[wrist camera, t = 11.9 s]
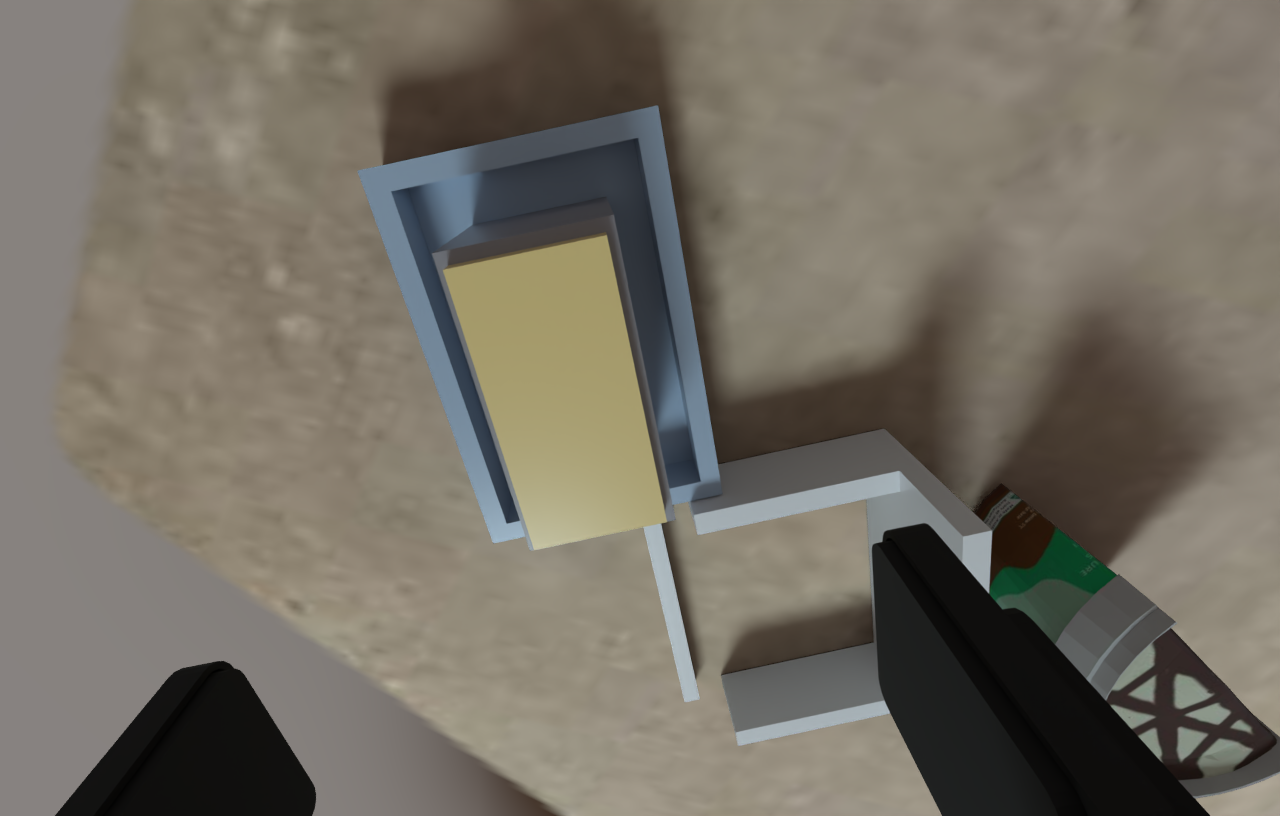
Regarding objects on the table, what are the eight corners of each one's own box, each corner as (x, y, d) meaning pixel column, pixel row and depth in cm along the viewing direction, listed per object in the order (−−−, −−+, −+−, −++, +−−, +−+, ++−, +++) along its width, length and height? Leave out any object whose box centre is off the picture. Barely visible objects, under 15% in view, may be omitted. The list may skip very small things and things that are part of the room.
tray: (650, 109, 22) (657, 105, 19) (710, 464, 28) (722, 493, 25) (382, 168, 22) (357, 170, 19) (501, 509, 28) (493, 543, 25)
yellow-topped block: (606, 196, 22) (614, 217, 16) (655, 435, 26) (678, 530, 20) (472, 224, 22) (426, 257, 16) (542, 460, 26) (528, 562, 20)
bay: (884, 428, 28) (992, 530, 20) (892, 652, 33) (978, 794, 26) (634, 482, 28) (651, 603, 20) (684, 696, 33) (712, 851, 26)
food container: (885, 548, 30) (1014, 722, 21) (984, 466, 29) (1169, 614, 20) (1016, 660, 34) (1172, 847, 25) (1109, 593, 33) (1311, 765, 24)
